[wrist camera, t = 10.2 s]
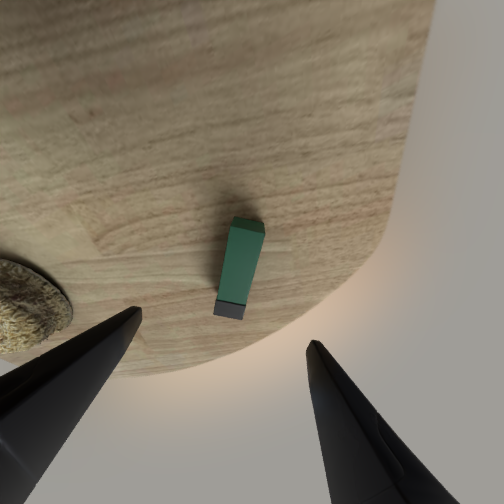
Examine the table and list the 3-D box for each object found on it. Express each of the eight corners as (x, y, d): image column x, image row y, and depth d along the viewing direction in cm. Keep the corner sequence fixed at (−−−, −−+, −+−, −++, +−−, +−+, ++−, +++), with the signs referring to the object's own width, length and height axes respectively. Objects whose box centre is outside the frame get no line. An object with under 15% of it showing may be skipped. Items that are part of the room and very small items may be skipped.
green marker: (233, 215, 14) (229, 225, 12) (264, 223, 14) (266, 234, 12) (218, 295, 18) (213, 314, 15) (244, 300, 18) (242, 320, 16)
